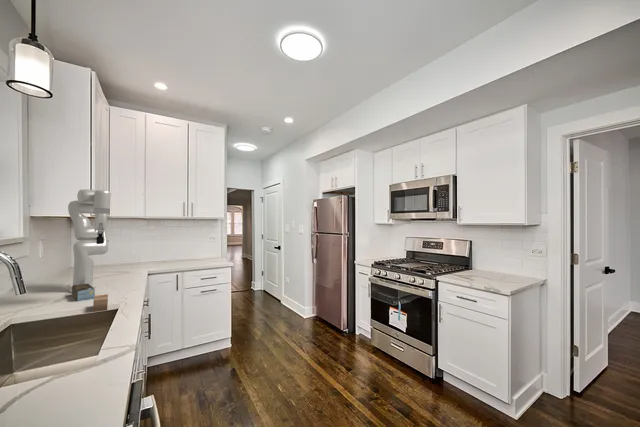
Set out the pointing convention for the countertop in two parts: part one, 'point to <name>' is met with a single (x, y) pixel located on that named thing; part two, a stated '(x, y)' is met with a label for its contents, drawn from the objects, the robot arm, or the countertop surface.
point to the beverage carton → (83, 292)
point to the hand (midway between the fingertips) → (99, 243)
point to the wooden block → (100, 303)
